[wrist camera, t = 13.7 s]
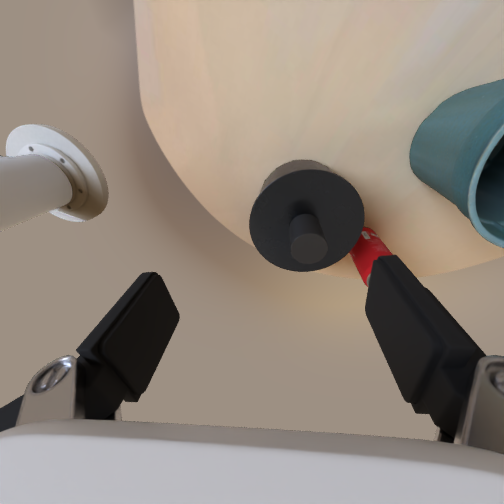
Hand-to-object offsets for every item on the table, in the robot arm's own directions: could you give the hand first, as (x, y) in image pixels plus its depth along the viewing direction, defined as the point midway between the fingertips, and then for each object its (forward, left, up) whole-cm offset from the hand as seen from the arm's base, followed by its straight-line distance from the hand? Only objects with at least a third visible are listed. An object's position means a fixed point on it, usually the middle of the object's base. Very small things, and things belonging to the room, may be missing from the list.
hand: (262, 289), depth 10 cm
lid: (+6, -4, -20) cm, 21 cm away
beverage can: (+19, -6, -29) cm, 36 cm away
